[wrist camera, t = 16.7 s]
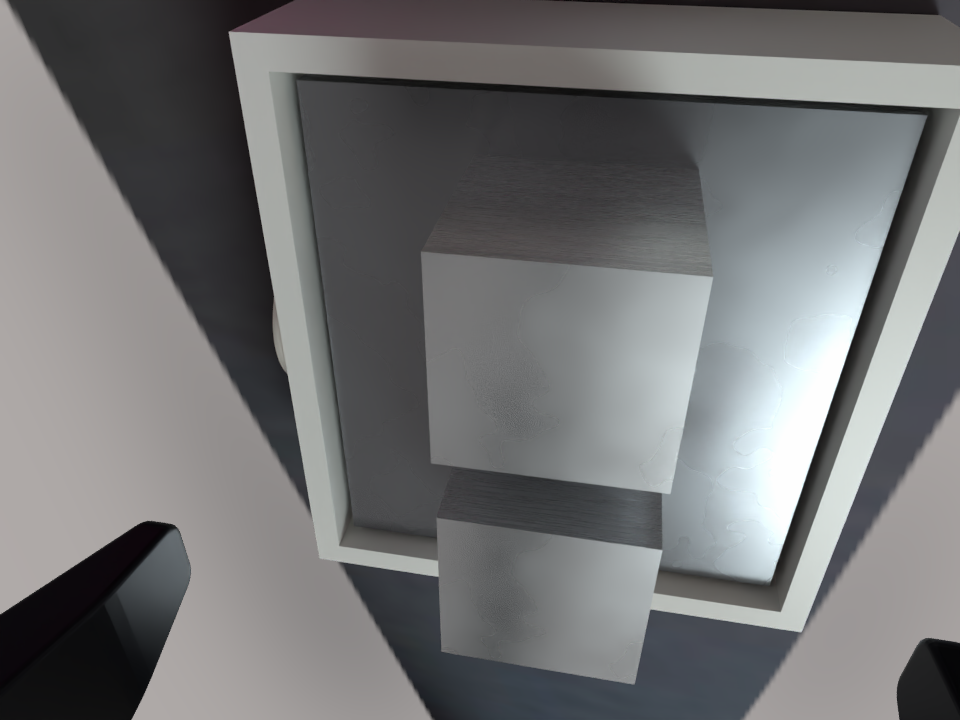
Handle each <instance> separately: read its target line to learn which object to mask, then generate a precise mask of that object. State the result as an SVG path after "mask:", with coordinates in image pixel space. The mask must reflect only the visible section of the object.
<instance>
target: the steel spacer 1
mask: <svg viewBox="0 0 960 720" xmlns="http://www.w3.org/2000/svg"><path fill="white" fill-rule="evenodd" d="M421 263H422V284H423V305H424V326H425V347H426V368H427V389H428V410H429V431H430V452H431V463H432V464H440V465H447V466H455V467H463V468H471V469H479V470H486V471H494V472H502V473H510V474H517V475H525V476H533V477H541V478H548V479H556V480H564V481H572V482H580V483H587V484H595V485H603V486H611V487H618V488H626V489H634V490H642V491H650V492H657V493H665V494H670V493H671V488H672V483H673V478H674V473H675V468H676V463H677V458H678V453H679V448H680V443H681V438H682V433H683V428H684V423H685V418H686V413H687V408H688V402H689V397H690V392H691V387H692V382H693V377H694V372H695V367H696V362H697V357H698V352H699V347H700V342H701V337H702V332H703V327H704V322H705V317H706V312H707V307H708V301H709V296H710V291H711V286H712V281H713V271H712V263H711V256H710V248H709V241H708V234H707V226H706V219H705V212H704V204H703V197H702V189H701V182H700V175H699V169H689V168H673V167H658V166H643V165H628V164H613V163H598V162H582V161H567V160H552V159H537V158H522V157H507V156H491V155H476V154H474V156H473V158H472V160H471V162H470V164H469V165H468V167H467V169H466V171H465V173H464V174H463V176H462V178H461V180H460V182H459V184H458V185H457V187H456V189H455V191H454V193H453V194H452V196H451V198H450V200H449V202H448V204H447V205H446V207H445V209H444V211H443V213H442V214H441V216H440V218H439V220H438V222H437V223H436V225H435V227H434V229H433V231H432V233H431V234H430V236H429V238H428V240H427V242H426V243H425V245H424V247H423V249H422V251H421Z"/></svg>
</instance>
